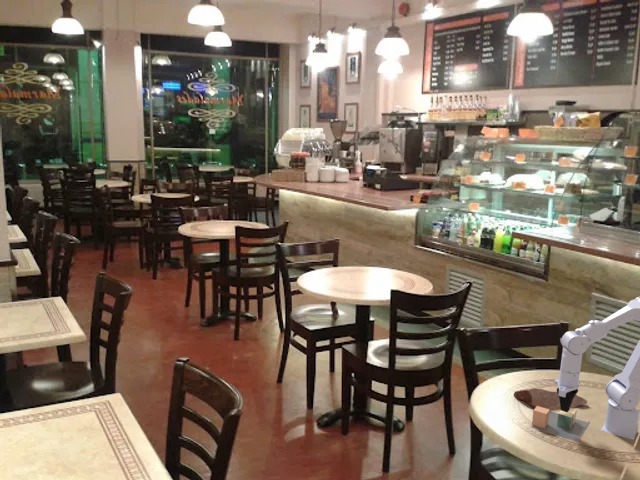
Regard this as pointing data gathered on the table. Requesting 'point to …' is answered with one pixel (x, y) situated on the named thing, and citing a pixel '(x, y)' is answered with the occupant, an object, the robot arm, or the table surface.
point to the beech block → (566, 418)
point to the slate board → (570, 434)
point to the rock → (544, 398)
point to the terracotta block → (540, 417)
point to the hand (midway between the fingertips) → (564, 410)
